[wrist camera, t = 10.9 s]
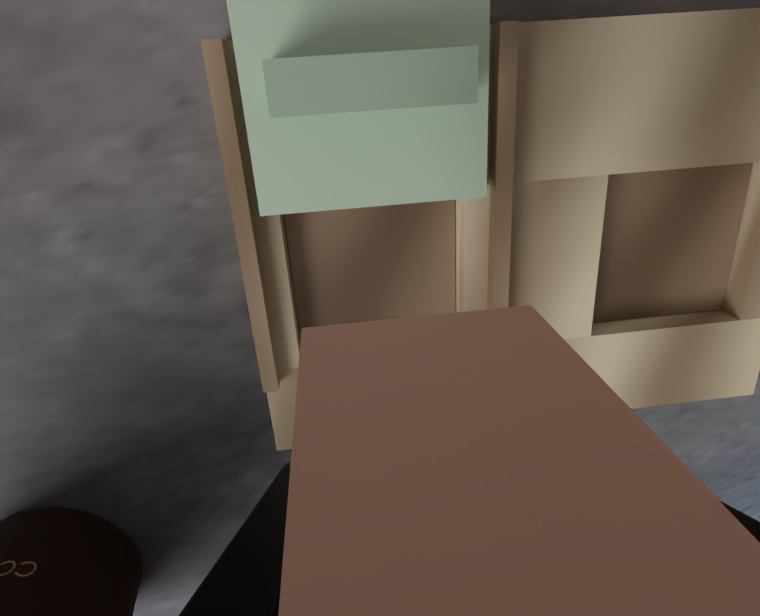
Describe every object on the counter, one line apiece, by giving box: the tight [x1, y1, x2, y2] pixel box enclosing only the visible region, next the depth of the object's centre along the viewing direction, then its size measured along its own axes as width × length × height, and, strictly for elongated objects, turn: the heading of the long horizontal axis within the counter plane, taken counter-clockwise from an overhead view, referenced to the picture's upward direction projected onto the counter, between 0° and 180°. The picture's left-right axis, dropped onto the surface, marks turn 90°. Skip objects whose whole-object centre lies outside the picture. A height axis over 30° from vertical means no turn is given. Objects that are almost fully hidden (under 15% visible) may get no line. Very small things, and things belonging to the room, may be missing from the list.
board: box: [201, 8, 760, 451], centre depth 17 cm, size 18×13×3 cm
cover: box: [226, 0, 490, 216], centre depth 13 cm, size 6×6×3 cm
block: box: [278, 305, 760, 616], centre depth 7 cm, size 4×4×6 cm
